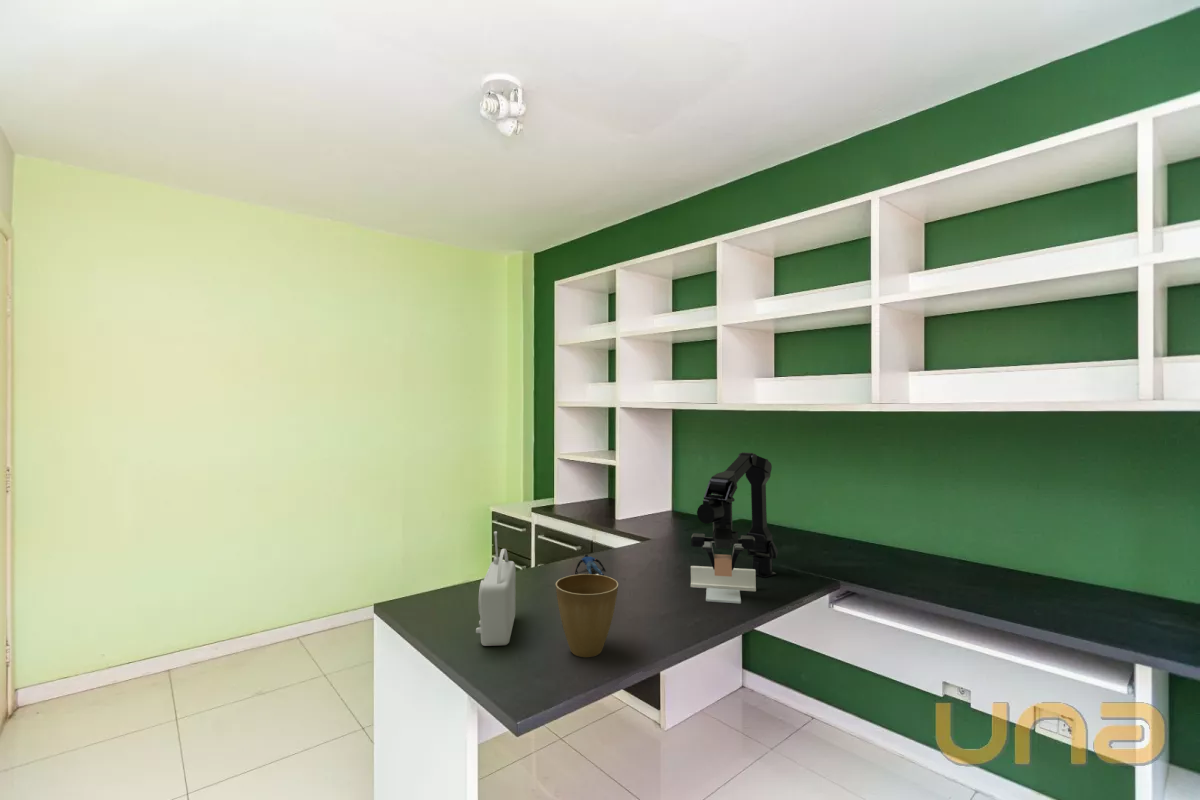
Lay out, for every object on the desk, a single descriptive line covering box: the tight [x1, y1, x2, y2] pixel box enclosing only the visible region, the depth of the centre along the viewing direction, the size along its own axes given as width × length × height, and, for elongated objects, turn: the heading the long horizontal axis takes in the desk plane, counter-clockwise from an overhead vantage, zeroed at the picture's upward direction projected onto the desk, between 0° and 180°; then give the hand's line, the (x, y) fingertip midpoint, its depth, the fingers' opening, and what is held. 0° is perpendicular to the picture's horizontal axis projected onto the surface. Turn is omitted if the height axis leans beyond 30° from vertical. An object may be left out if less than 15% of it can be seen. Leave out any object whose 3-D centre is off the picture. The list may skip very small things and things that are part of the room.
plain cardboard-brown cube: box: [714, 553, 732, 577], centre depth 165 cm, size 5×5×5 cm
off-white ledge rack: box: [690, 565, 757, 592], centre depth 173 cm, size 4×20×6 cm, turn 78°
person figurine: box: [574, 554, 606, 576], centre depth 187 cm, size 11×4×18 cm
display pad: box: [705, 588, 742, 604], centre depth 164 cm, size 10×10×1 cm
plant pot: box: [555, 573, 619, 658], centre depth 129 cm, size 15×15×16 cm
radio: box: [475, 530, 517, 647], centre depth 140 cm, size 22×8×25 cm, turn 4°
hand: (723, 569), depth 164 cm, fingers closed on plain cardboard-brown cube, 5 cm apart
